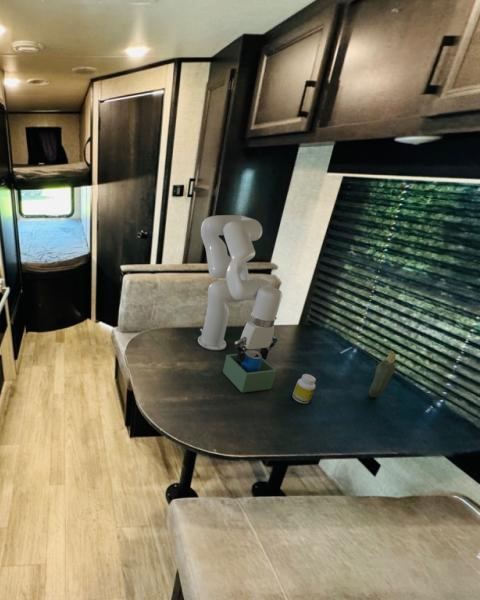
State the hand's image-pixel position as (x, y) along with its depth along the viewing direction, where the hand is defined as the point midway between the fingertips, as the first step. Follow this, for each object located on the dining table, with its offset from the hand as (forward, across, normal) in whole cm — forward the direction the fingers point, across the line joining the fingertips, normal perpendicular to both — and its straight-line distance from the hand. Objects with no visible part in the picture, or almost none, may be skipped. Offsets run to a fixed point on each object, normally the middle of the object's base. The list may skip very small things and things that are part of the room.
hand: (251, 358), depth 121 cm
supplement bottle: (+10, -13, +14) cm, 21 cm away
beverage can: (+10, 0, 0) cm, 10 cm away
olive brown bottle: (+10, -39, +18) cm, 44 cm away
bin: (+10, 0, 0) cm, 10 cm away
